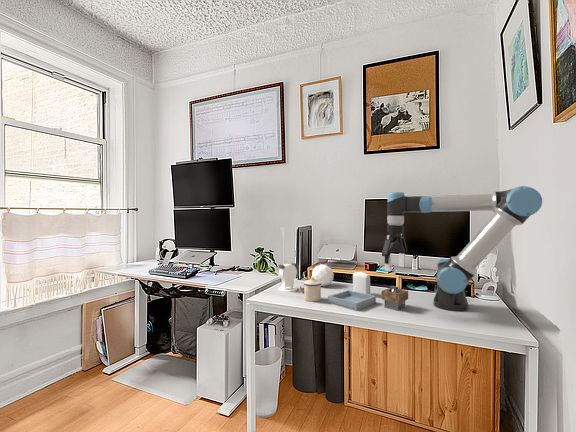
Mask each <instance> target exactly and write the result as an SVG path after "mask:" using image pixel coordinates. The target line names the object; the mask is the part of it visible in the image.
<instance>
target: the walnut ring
mask: <svg viewBox="0 0 576 432" xmlns="http://www.w3.org/2000/svg"><path fill="white" fill-rule="evenodd" d="M381 300H383V301H385V300H388V301H392V302H396V303H401V302H403V301H405V302H406V301H407V300H409V290H405V289H400V288H398V293H395V292H392V289H390V287H388V288H385V289H382V290H381Z"/></svg>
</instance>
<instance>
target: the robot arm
mask: <svg viewBox="0 0 576 432" xmlns="http://www.w3.org/2000/svg"><path fill="white" fill-rule="evenodd" d="M542 206H543V198H542V195H541V194H540V192H539V191H538V190H537V189H536V188H533V187H531V186H525V185H523V186H522V185H521V186H520V185H519V186H516V187H514V188H510V189H507V190H502V191H501V190H500V191H499V190H498V191H493V192H492V193H486V194H485V193H484V194H464V195H461V194H459V195H440V196H438V195H437V196H426V195H423V196H422V195H419V196H406V195H405V193H404V192H401V191H399V192H398V191H397V192H396V191H395V192H393V191H392V192H389V193H388V194H387V214H386V215H387V216H386V217H387V218H386V219H387V223H386V224H387V226H386V227H387V228H386V229H387V231H386V232H387V233H389V234H388V235H387V234H386V235H385V239H384V240H385V241H384V244H383V247H382V248H383V249H382V251H381V256H382V257H384V271H388V272H390V271H391V270H392V269H391V267H392V264H391V262H392V258H391V255H392V252H393V249H394V246H396V247H397V249H398V250H399V253H398V267H400V268H405V266H406V265H405V264H406V263H405V262H406V260H405V257H406V254H407V255H408V247H407V243H406V239H405V233H404V231H405V230H404V229H405V226H404V224H405V213H423V214H426V213H433V212H434V213H435V212H437V213H439V212H440V213H441V212H482V211H483V212H484V211H486V212H487V211H488V212H489V211H490V212H491V211H492V212H493V213H494V214H493V215H492V216H491V218H489V220H488V221H487V222H486V223H485V224H484V225H483V226H482V228H481V229H480V230H479V231H478V232H477V233H476V234H475V235H474V236H473V238H472V239H471V240H470V241H469V242H468V243H467V244H466V246H464V248H463V249H462V250H461V251H460V252H459V253H458V254H457V255H456V256H450V258H439V259H438V260H437V263H436V264H437V272H436V276H435V277H436V278H435V280H436V282H437V287H436V288H437V289H436V292H435V294H434V296H433V297H434V298H433V303H432V304H433V306H435V307H436V308H438V309H442V310H447V311H454V312H457V311H459V312H461V311H462V312H463V311H467V310H468V309H469V301H468V299H467V297H466V296H467V295H466V293H465V289H466V288H467V287H468V283H469V282H470V281H471V279H473V278H474V276H475V275H476V271H475V270H476V268H478V266H479V265H480V264H481V263H482V262H483V261H484V260H485V259H486V258H487V257H488V256H489V254H490V253H491V252H492V251H493V250H494V249H495V248H497V246H498V245H499V244H500V243H501V242H502V241H503V239H505V237H506V236H507V235H508V234H509V233H510V232H511V231H512V230H514V229H513V228H514V227H516V226H522V225H523V224H524V223H526V221H527V220H528V219H529V218H530V217H531V216H532V215H535V214H537V213H538V212H539V211H540V210H541V208H542Z"/></svg>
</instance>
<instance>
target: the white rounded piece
mask: <svg viewBox="0 0 576 432" xmlns="http://www.w3.org/2000/svg"><path fill="white" fill-rule="evenodd" d="M278 268H279V270H278V276H279V277H278V278H279V282H280V287H278V288H277V290H278V291H280V292H284V293H285V292H286V293H287V292H288V293H289V292H290V293H291V292H296V291H298V288H297V287H296V286H295V285H294V284H295V279H296V278H297V275H298V270H297V268H298V264H297V263H296V262H291V263H284V264H278Z"/></svg>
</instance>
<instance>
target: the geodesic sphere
mask: <svg viewBox="0 0 576 432" xmlns="http://www.w3.org/2000/svg"><path fill="white" fill-rule="evenodd" d="M311 272H312V273H311V277H314V279H316V280H317V281H320V282H321V287H327V286H330V285H331V283H332V282H333V281H334V276H335V275H334V274H335V273H334V272H333V269H332V267H330V266H328V265H327V264H324V263H320V264H318V265H316V266H315V267H314V268H313V269H312V271H311Z"/></svg>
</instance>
